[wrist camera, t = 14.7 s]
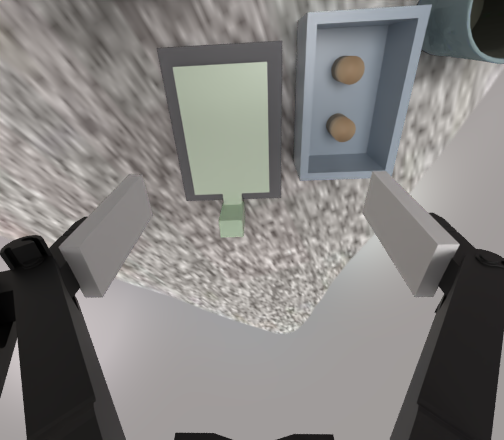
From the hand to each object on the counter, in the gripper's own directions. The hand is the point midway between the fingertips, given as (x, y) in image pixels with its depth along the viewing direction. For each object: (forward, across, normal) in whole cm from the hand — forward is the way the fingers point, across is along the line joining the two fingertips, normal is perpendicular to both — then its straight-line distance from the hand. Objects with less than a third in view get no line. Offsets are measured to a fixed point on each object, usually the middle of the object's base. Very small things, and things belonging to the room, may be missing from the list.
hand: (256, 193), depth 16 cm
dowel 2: (+26, +12, -3) cm, 29 cm away
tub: (+27, +11, +1) cm, 30 cm away
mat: (+27, -4, -4) cm, 28 cm away
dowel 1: (+27, +11, +4) cm, 29 cm away
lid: (+26, -4, -6) cm, 27 cm away
